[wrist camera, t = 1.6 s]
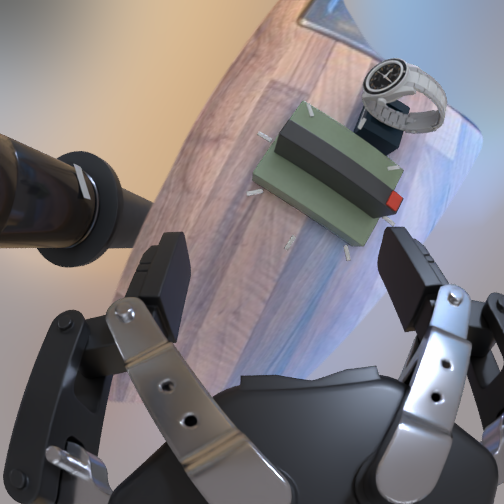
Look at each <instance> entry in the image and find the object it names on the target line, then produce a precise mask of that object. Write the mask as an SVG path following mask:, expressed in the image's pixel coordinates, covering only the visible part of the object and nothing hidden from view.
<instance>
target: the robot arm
mask: <svg viewBox="0 0 504 504" xmlns="http://www.w3.org/2000/svg"><path fill="white" fill-rule="evenodd" d="M74 166H75V167H73V166H70V165H68V164H66V163H64V162H62V161H60V160H58V159H55V158H53V157H51V156H49V155H47V154H44V153H42V152H40V151H38V150H35V149H33V148H31V147H29V146H27V145H24V144H22V143H20V142H18V141H16V140H14V139H11V138H9V137H7V136H5V135H2V134H0V248H64V249H65V248H73V247H76V246H78V245H80V244H81V243H83V242H84V241H85V240H86V239H87V238H88V237H89V236H90V234H91V233H92V231H93V230H94V228H95V226H96V223H97V221H98V217H99V213H100V193H99V189H98V186H97V184H96V182H95V181H94V179H93V178H92V177H91V176H90V175H89V174H88V173H87V172H85V171H83V170H81V167H79V166H77V165H75V164H74ZM377 263H378V271H379V274H380V276H381V278H382V280H383V282H384V284H385V287H386V289H387V291H388V293H389V295H390V298H391V300H392V302H393V305H394V307H395V309H396V312H397V314H398V317H399V319H400V321H401V324H402V326H403V329H404V331H405V332H409V331H416V333H417V335H416V337H415V339H414V342H413V344H412V347H411V350H410V353H409V355H408V358H407V360H406V362H405V365H404V368H403V370H402V372H401V374H400V377H399V379H398V380H397V379H394V378H391V377H388V376H383V375H379V374H378V370H377V367H376V366H370V367H362V368H355V369H346V370H343V371H340V372H337V373H334V374H331V375H329V376H326V377H322V378H319V379H316V380H312V381H311V380H304V379H297V378H291V377H285V376H279V375H254V376H241V383H240V385H239V386H235V387H232V388H229V389H226V390H224V391H222V392H220V393H218V394H216V395H215V396H213V397H212V396H211V395H210V394H209V392H208V391H207V390H206V388H205V387H204V386H203V385H202V383H201V382H200V381H199V379H198V378H197V376H196V375H195V374H194V372H193V371H192V370H191V368H190V367H189V365H188V364H187V363H186V361H185V360H184V358H183V357H182V356H181V354H180V353H179V351H178V350H177V348H176V347H175V346H174V344H173V343H176V342H177V337H178V332H179V327H180V323H181V318H182V313H183V309H184V304H185V300H186V295H187V291H188V286H189V282H190V277H191V265H190V260H189V255H188V250H187V245H186V240H185V235H184V233H183V232H166V233H164V234H163V236H162V238H161V240H160V243H159V245H156V246H151V247H150V248H149V249H148V250H147V251H146V252H145V253H144V254H143V256H142V258H141V260H140V264H139V265H138V267H137V269H136V272H135V274H134V276H133V279H132V281H131V283H130V286H129V288H128V290H127V293H126V295H125V297H124V298H122V299H119V300H117V301H116V302H114V303H113V304H112V305H111V306H110V307H109V308H108V310H107V312H106V315H103V316H99V317H95V318H90V319H86V320H85V318H84V317H83V315H82V313H80V312H79V311H76V310H68V311H65V312H63V313H61V314H59V315H58V316H57V317H56V318H55V319H54V320H53V322H52V324H51V326H50V328H49V330H48V332H47V335H46V337H45V339H44V342H43V344H42V347H41V349H40V351H39V354H38V356H37V359H36V361H35V364H34V367H33V369H32V372H31V375H30V377H29V380H28V383H27V386H26V389H25V392H24V395H23V398H22V401H21V404H20V408H19V411H18V414H17V418H16V421H15V425H14V428H13V433H12V436H11V441H10V444H9V449H8V453H7V458H6V463H5V468H4V474H3V480H4V485H5V488H6V490H7V492H8V494H9V495H10V496H11V497H12V498H13V499H14V500H15V501H17V502H19V503H21V504H493V503H494V498H495V494H496V490H497V486H498V485H500V484H502V483H504V366H503V369H502V370H501V372H500V370H499V368H498V365H497V363H496V360H495V358H494V356H493V353H492V351H491V348H492V347H493V346H494V344H495V343H497V345H498V347H499V349H500V352H501V354H502V356H503V359H504V295H502V294H500V293H491V294H490V295H489V297H488V298H487V300H486V302H479V301H474V300H471V298H470V296H469V294H468V293H467V292H466V291H465V290H464V289H463V288H461V287H459V286H457V285H454V284H449V283H448V281H447V280H446V278H445V276H444V275H443V273H442V272H441V270H440V269H439V267H438V265H437V264H436V263H434V259H433V258H432V257H431V256H430V254H429V252H428V251H427V249H426V248H425V247H424V245H422V244H421V243H420V242H419V241H417V240H416V239H413V238H412V237H411V235H410V234H409V232H408V231H407V230H406V228H405V227H387V228H386V229H385V231H384V235H383V239H382V243H381V247H380V251H379V255H378V262H377ZM123 372H128V374H129V376H130V378H131V380H132V382H133V384H134V386H135V388H136V390H137V392H138V394H139V396H140V397H141V399H142V401H143V403H144V405H145V406H146V408H147V410H148V412H149V414H150V415H151V417H152V419H153V420H154V422H155V424H156V426H157V427H158V429H159V430H160V432H161V434H162V435H163V437H164V438H165V440H166V442H165V443H164V444H163V445H162V446H161V447H160V448H159V449H158V450H157V451H156V452H155V453H154V454H152V455H151V456H150V457H149V458H148V459H147V460H146V461H145V462H144V463H143V464H142V465H141V466H140V467H139V468H137V469H136V470H135V471H134V472H133V473H132V474H131V475H130V476H129V477H127V478H126V479H125V480H124V481H123V482H122V483H121V484H120V485H119V486H117V488H116V489H115V490H114V491H112V489H111V488H110V486H109V483H108V473H107V468H106V466H105V464H104V463H103V461H102V460H101V459H100V458H98V450H99V444H100V437H101V432H102V426H103V421H104V416H105V410H106V405H107V401H108V396H109V391H110V387H111V382H112V378H113V374H118V373H123ZM466 375H467V377H468V379H469V382H470V386H471V389H472V392H473V395H474V398H475V401H476V405H477V408H478V411H479V415H480V419H481V422H482V426H483V430H484V432H483V435H482V441H481V442H478V441H477V440H476V439H475V438H473V437H472V436H471V435H469V434H468V433H467V432H466V431H464V430H463V429H462V428H461V427H459V426H458V425H457V424H456V423H454V421H455V418H456V415H457V411H458V408H459V404H460V401H461V397H462V392H463V388H464V384H465V380H466Z"/></svg>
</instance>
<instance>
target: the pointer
mask: <svg viewBox="0 0 504 504" xmlns="http://www.w3.org/2000/svg"><path fill="white" fill-rule="evenodd" d="M274 152H275V153H277V154H279V155H280V156H282V157H283V158H285V159H287V160H288V161H290V162H291V163H293V164H295V165H296V166H298V167H299V168H301V169H302V170H304V171H305V172H307V173H309V174H310V175H312V176H313V177H315V178H316V179H318V180H319V181H321V182H322V183H324V184H325V185H327V186H328V187H330V188H331V189H333V190H334V191H335V192H337V193H338V194H340V195H341V196H343V197H344V198H345V199H347V200H348V201H350V202H351V203H353V204H354V205H355V206H357V207H358V208H360V209H361V210H362V211H364V212H365V213H366V214H368V215H369V216H370V217H372V218H373V219H375V218H380V217H385V216H389V215H394V214H396V213H397V211H398V209H399V207H400V205H401V203H402V201H403V198H402V197H401V196H400V195H399V194H398V193H396V192H395V191H394V190H392V189H391V188H390V187H389V186H387V185H386V184H385V183H383V182H382V181H381V180H380V179H378V178H377V177H376V176H374V175H373V174H372V173H370V172H369V171H367V170H366V169H365V168H363V167H362V166H361V165H359V164H358V163H356V162H355V161H354V160H352V159H351V158H349V157H348V156H346V155H345V154H344V153H342V152H341V151H339V150H338V149H336V148H335V147H333V146H332V145H330V144H329V143H327V142H326V141H324V140H323V139H321V138H319V137H318V136H316V135H315V134H313V133H312V132H310V131H308V130H307V129H305V128H304V127H302V126H300V125H299V124H297V123H295V122H294V121H292V120H290V119H289V120H288V121H287V123H286V124H285V126H284V127H283V129H282V130H281V131H280V133H279V136H278V139H277V142H276V146H275V149H274Z"/></svg>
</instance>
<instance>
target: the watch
mask: <svg viewBox="0 0 504 504" xmlns="http://www.w3.org/2000/svg"><path fill="white" fill-rule="evenodd" d="M363 90H364V91H363V94H362V102H363V104H364V106H363V109H362V111H361V114H360V117H359V119H358V122H357V124H356V127H355V130H354V132H353V133H355V134H356V135H358V136H359V137H361V138H362V139H363V140H365V141H366V142H368V143H369V144H370V145H372V146H373V147H374V148H376V149H377V150H378V151H380V152H381V153H382V154H384V155H385V156H387V155H388V154H390V153H391V152H393V151H394V150H396V149H398V148H399V145H400V141H401V138H402V135H403V131H406V133H413V134H415V133H428V132H433V131H436V130H437V129H438V128H439V127H441V126H442V124H443V122H444V118H445V112H446V107H447V98H446V95H445V92H444V90H443V89H442V87H441V86H440V84H439V83H438V82H437V81H436V80H435V79H434V78H433V77H431V76H430V75H428V74H427V73H426V72H424V71H422V70H421V69H420V68H419V67H417V66H415V65H412V64H408V63H406V62H405V61H404V60H402V59H399V58H392V59H388V60H385V61H382V62H381V63H379V64H377V65H376V66H375V67H373V68H372V69H371V70H370V71H369V73H368V74H367V75H366V77H365V79H364V82H363ZM415 90H416V91H418V92H420V93H423V94H424V95H425V96H426V97H428V98H429V99H431V101H432V102H433V103H434V104H435V105H436V106H437V108H438V110H437V111H434V110H432V111H427V112H418V113H410V114H409V115H408V113H409V110H410V108H409V107H408V106H406V105H405V104H403V103H402V102H400V101H398V100H397V99H400V98H401V97H403V96H406V95H414V94H416V91H415ZM363 118H365V119H367V120H366V121H365V123H364V125H363V127H362V128H361V130H360V129H359V128H358V126H359V124H360V122H361V121H362V119H363Z"/></svg>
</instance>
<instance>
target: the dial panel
mask: <svg viewBox="0 0 504 504" xmlns="http://www.w3.org/2000/svg"><path fill="white" fill-rule="evenodd" d="M290 120H292V121H294V122H295V123H297V124H299V125H300V126H302V127H304V128H305V129H307V130H308V131H310V132H312V133H313V134H315V135H316V136H318V137H319V138H321V139H323V140H324V141H326V142H327V143H329V144H330V145H332V146H333V147H335V148H336V149H338V150H339V151H341V152H342V153H344V154H345V155H346V156H348V157H349V158H351V159H352V160H354V161H355V162H356V163H358V164H359V165H361V166H362V167H363V168H365V169H366V170H367V171H369V172H370V173H372V174H373V175H374V176H376V177H377V178H378V179H380V180H381V181H382V182H383V183H385V184H386V185H387V186H389V187H390V188H391V189H392V190H394V189H395V187H396V185H397V183H398V181H399V179H400V177H401V175H402V173H403V171H404V170H403V169H402V168H400V167H399V165H397V164H395V163H394V162H393V161H392V160H390V159H389V158H388V157H386V156H385V155H384V154H382V153H381V152H380V151H378V150H377V149H376V148H374V147H373V146H372V145H370V144H369V143H368V142H366V141H365V140H363V139H362V138H361V137H359V136H358V135H356V134H355V133H353V132H352V131H350V130H349V129H348V128H346V127H345V126H343V125H342V124H340V123H339V122H337V121H335V120H334V119H332V118H331V117H329V116H328V115H326V114H325V113H323V112H321V111H320V110H318V109H316V108H315V107H313V106H312V105H310V103H309V104H308V103H307V102H305V101H302V102H301V104H300V105H299V106H298V108H297V109H296V111H295V112H294V114H293V115H292V116H291V118H290ZM366 120H367V119H365V118H363V119H362V121H361V122H360V124H359V126H358V128H359V129H360V130H361V128H362V127H363V125H364V123H365V121H366ZM257 135H258V136H260V137H262V138H264V139H265V140H267V141H269V142H271V141H272V138H270V137H268V136H267V135H265V134H263V133H261V132H260V131H259V133H258V134H257ZM278 136H279V135H278ZM278 136H277V138H276V139H275V141H274V142H273V144H272V145H271V147H270V148H269V149H268V151H267V152H266V154H265V155H264V157H263V158H262V160H261V161H260V163H259V164H258V166H257V167H256V169H255V170H254V172H253V177H252V181H254V182H255V183H257V184H259V185H260V186H262V187H264V188H265V189H267V190H268V191H270V192H271V193H273V194H275V195H276V196H278V197H279V198H281V199H282V200H284V201H286V202H287V203H289V204H290V205H292V206H293V207H295V208H296V209H298V210H299V211H301V212H303V213H304V214H306V215H307V216H309V217H310V218H312V219H313V220H315V221H316V222H318V223H319V224H321V225H322V226H324V227H325V228H327V229H328V230H329V231H331V232H332V233H334V234H335V235H337V236H338V237H340V238H341V239H343V240H344V241H345V242H347V243H348V244H350V245H351V246H364V245H365V243H366V242H367V240H368V238H369V236H370V234H371V233H372V231H373V229H374V227H375V225H376V223H377V222H378V220H379V218H375V219H373V218H372V217H370V216H369V215H368V214H366V213H365V212H364V211H362V210H361V209H360V208H358V207H357V206H355V205H354V204H353V203H351V202H350V201H348V200H347V199H345V198H344V197H343V196H341V195H340V194H338V193H337V192H335V191H334V190H333V189H331V188H330V187H328V186H327V185H325V184H324V183H322V182H321V181H319V180H318V179H316V178H315V177H313V176H312V175H310V174H309V173H307V172H305V171H304V170H302V169H301V168H299V167H298V166H296V165H295V164H293V163H291V162H290V161H288V160H287V159H285V158H283V157H282V156H280V155H279V154H277V153H275V152H274V149H275V146H276V142H277V139H278ZM261 193H263V189H259V190H254V191H249V192H247V196H251V195H256V194H261ZM382 218H383V219H384V220H385V221H387V222H388V223H389V224H391V225H392V226H394V224H395V223H394V222H393V221H392V220H390V219H389V218H388V217H387V216H385V217H382ZM295 238H296V236H294V235H292V236H291V238H290V240H289V241H288V243H287V244H286V246H285V248H284V249H286V250H288V249H289V248H290V246H291V244H292V243H293V241H294V240H295ZM344 251H345V256H346V261H350V254H349V249H348V245H345V246H344Z"/></svg>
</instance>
